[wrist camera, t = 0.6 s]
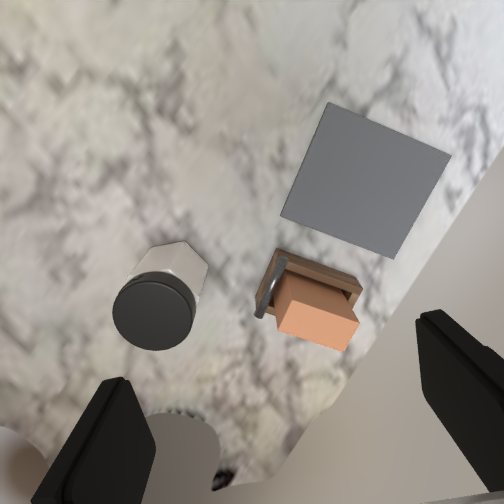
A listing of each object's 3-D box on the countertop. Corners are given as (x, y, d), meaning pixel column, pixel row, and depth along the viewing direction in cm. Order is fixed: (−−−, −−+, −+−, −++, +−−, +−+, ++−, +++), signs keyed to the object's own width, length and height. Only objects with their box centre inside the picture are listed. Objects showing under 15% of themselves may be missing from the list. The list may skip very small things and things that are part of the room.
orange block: (283, 264, 46) (292, 299, 37) (337, 283, 47) (359, 323, 38) (272, 289, 47) (277, 330, 38) (325, 308, 48) (343, 352, 39)
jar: (153, 230, 44) (121, 266, 33) (215, 250, 45) (203, 291, 34) (138, 290, 47) (103, 342, 36) (195, 307, 48) (179, 363, 37)
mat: (327, 102, 39) (329, 102, 39) (449, 155, 41) (451, 155, 41) (280, 215, 44) (280, 216, 43) (391, 257, 46) (393, 259, 45)
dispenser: (276, 245, 45) (280, 258, 41) (356, 274, 46) (368, 289, 42) (253, 299, 48) (254, 316, 43) (329, 325, 49) (337, 344, 45)
